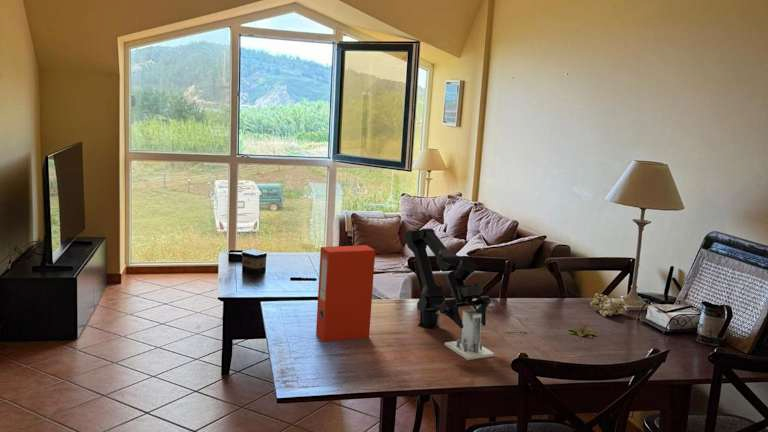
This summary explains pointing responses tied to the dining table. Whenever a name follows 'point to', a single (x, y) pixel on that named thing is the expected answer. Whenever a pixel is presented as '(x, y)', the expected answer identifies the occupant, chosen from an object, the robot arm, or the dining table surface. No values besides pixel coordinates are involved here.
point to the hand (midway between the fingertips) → (473, 326)
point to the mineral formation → (608, 305)
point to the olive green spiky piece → (582, 331)
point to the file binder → (345, 292)
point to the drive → (471, 329)
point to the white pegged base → (467, 353)
